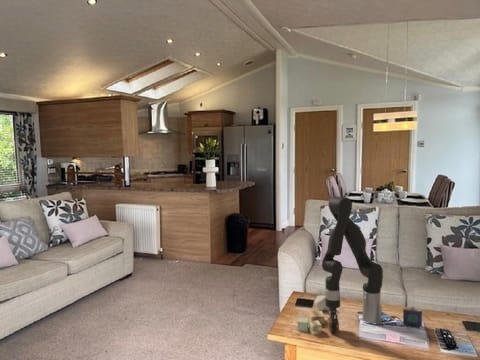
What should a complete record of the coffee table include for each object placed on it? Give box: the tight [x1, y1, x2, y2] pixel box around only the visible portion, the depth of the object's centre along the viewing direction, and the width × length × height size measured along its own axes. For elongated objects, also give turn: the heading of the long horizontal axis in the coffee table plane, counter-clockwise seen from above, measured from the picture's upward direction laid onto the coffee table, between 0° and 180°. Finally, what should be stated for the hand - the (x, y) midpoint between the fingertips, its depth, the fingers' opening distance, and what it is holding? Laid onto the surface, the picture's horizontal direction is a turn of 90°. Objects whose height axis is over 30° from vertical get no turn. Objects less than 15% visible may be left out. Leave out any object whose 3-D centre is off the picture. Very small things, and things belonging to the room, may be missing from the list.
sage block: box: [297, 317, 309, 333], centre depth 194 cm, size 5×5×5 cm
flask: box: [402, 305, 423, 328], centre depth 194 cm, size 9×3×11 cm, turn 74°
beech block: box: [308, 320, 322, 336], centre depth 191 cm, size 5×5×5 cm
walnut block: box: [327, 317, 340, 332], centre depth 190 cm, size 5×5×5 cm
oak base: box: [308, 310, 326, 326], centre depth 201 cm, size 7×7×5 cm
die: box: [314, 294, 329, 312], centre depth 216 cm, size 8×9×10 cm
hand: (333, 328), depth 191 cm, fingers closed on walnut block, 5 cm apart
